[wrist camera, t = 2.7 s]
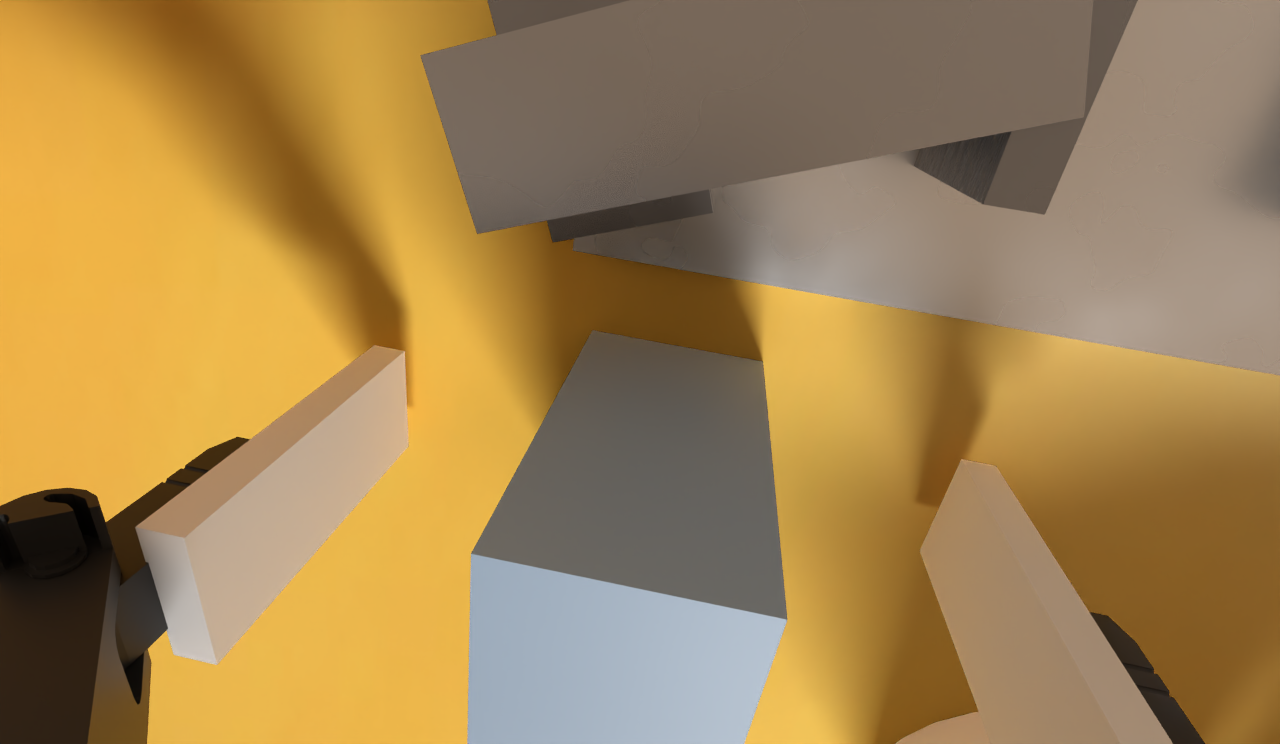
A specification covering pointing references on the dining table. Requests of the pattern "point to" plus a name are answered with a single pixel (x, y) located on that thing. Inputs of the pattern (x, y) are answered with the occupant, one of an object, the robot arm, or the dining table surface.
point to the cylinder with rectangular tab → (951, 732)
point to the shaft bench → (902, 153)
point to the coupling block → (632, 558)
